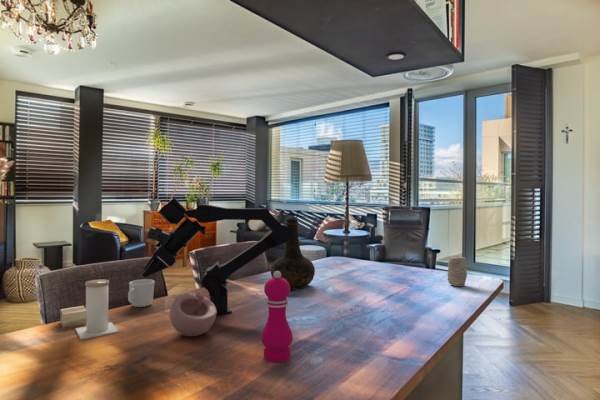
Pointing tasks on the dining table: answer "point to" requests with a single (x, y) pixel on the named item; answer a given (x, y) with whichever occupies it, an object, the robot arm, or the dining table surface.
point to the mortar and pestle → (192, 314)
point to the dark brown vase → (294, 261)
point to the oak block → (73, 316)
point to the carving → (457, 270)
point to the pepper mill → (277, 320)
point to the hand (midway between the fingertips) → (144, 273)
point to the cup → (141, 292)
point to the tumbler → (96, 305)
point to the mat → (85, 335)
